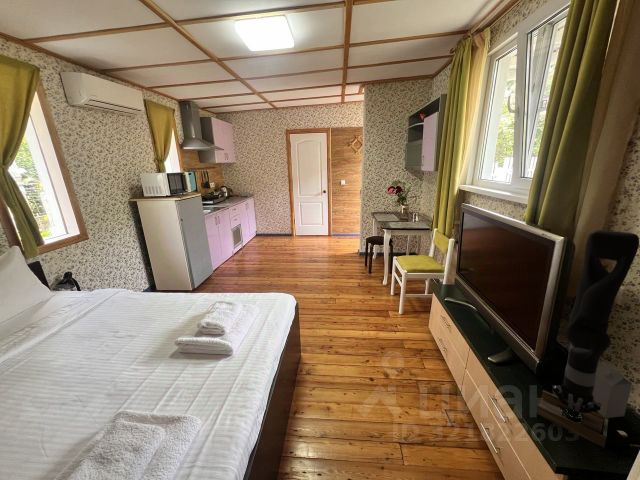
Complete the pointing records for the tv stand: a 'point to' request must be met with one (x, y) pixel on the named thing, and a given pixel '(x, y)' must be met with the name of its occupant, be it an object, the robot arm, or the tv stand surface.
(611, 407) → the milk carton
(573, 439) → the tv stand surface
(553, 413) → the wooden tray
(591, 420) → the walnut block
